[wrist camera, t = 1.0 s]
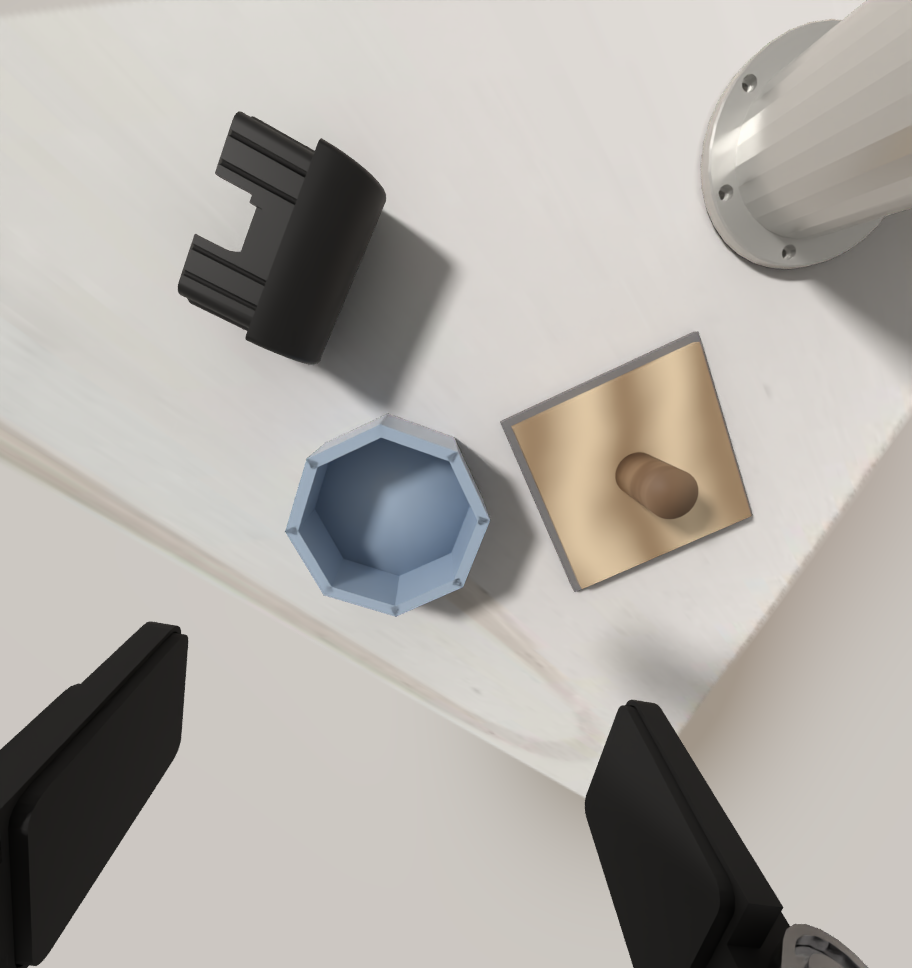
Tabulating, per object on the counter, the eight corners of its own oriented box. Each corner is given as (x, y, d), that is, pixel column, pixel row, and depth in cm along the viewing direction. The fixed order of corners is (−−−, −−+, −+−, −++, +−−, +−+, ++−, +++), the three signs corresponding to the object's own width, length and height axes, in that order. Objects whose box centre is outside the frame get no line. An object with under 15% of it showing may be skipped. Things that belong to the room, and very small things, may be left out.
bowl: (433, 391, 31) (433, 398, 27) (500, 536, 34) (511, 566, 30) (281, 463, 32) (255, 482, 27) (360, 598, 35) (349, 637, 30)
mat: (693, 331, 31) (698, 331, 31) (747, 512, 35) (752, 515, 34) (500, 421, 32) (501, 422, 32) (572, 588, 36) (574, 592, 35)
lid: (693, 342, 31) (751, 339, 25) (744, 512, 34) (805, 543, 29) (511, 426, 32) (528, 441, 26) (578, 583, 35) (606, 627, 30)
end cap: (329, 365, 31) (301, 367, 24) (223, 313, 30) (164, 301, 23) (393, 212, 29) (382, 170, 22) (282, 150, 27) (235, 87, 21)
